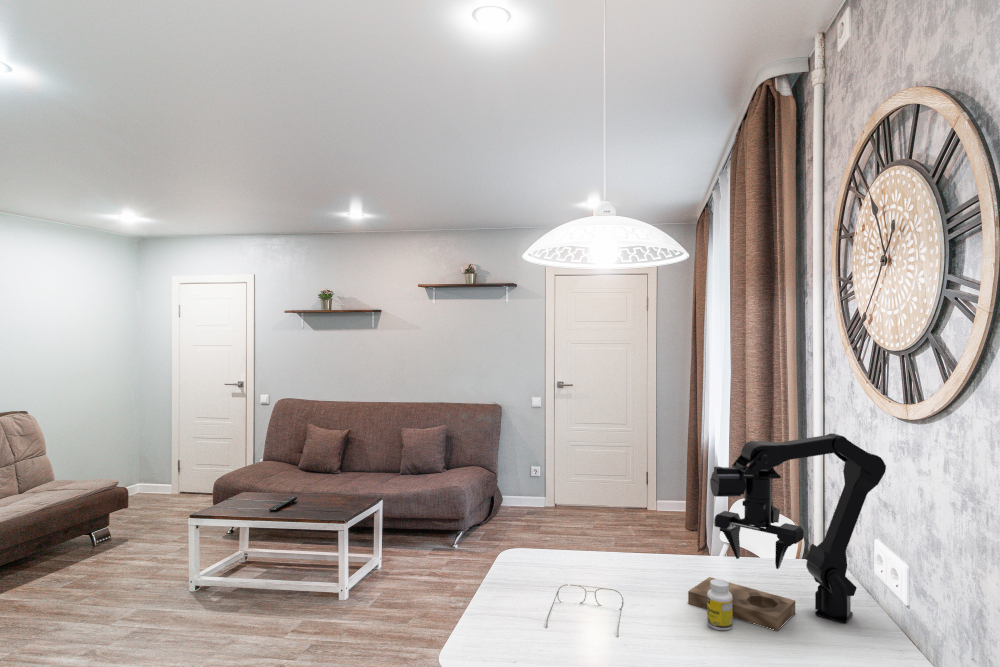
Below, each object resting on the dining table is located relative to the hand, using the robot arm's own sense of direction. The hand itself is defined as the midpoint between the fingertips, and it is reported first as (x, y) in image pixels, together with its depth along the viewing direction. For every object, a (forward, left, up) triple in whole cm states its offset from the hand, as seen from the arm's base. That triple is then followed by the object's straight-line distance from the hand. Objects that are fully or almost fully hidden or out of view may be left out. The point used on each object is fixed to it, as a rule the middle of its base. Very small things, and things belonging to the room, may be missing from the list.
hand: (757, 563), depth 145 cm
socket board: (+4, -1, -12) cm, 13 cm away
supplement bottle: (+4, +11, -12) cm, 17 cm away
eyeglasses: (+29, +28, -13) cm, 42 cm away
